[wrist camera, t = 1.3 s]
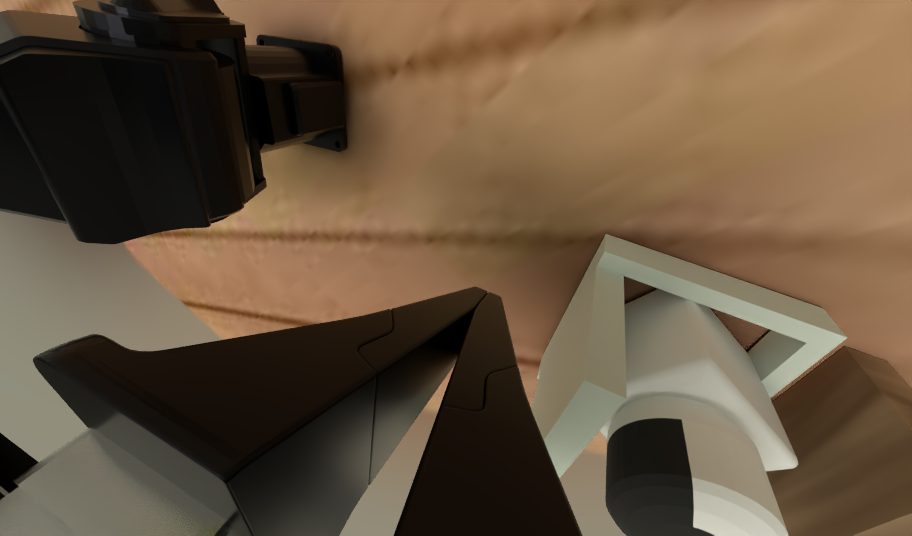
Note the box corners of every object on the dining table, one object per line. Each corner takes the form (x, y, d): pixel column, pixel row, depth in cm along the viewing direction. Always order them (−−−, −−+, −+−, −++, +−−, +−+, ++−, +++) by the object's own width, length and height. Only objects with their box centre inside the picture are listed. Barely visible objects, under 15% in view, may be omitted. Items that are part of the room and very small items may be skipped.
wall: (744, 422, 23) (792, 558, 17) (844, 346, 18) (962, 494, 12) (777, 436, 23) (838, 580, 16) (887, 361, 18) (1032, 523, 12)
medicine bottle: (641, 390, 25) (656, 592, 15) (580, 322, 24) (555, 492, 15) (753, 358, 20) (869, 613, 11) (683, 274, 20) (744, 473, 10)
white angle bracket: (542, 355, 27) (506, 495, 18) (606, 233, 20) (596, 362, 12) (694, 422, 24) (735, 620, 16) (823, 308, 18) (1018, 543, 9)
